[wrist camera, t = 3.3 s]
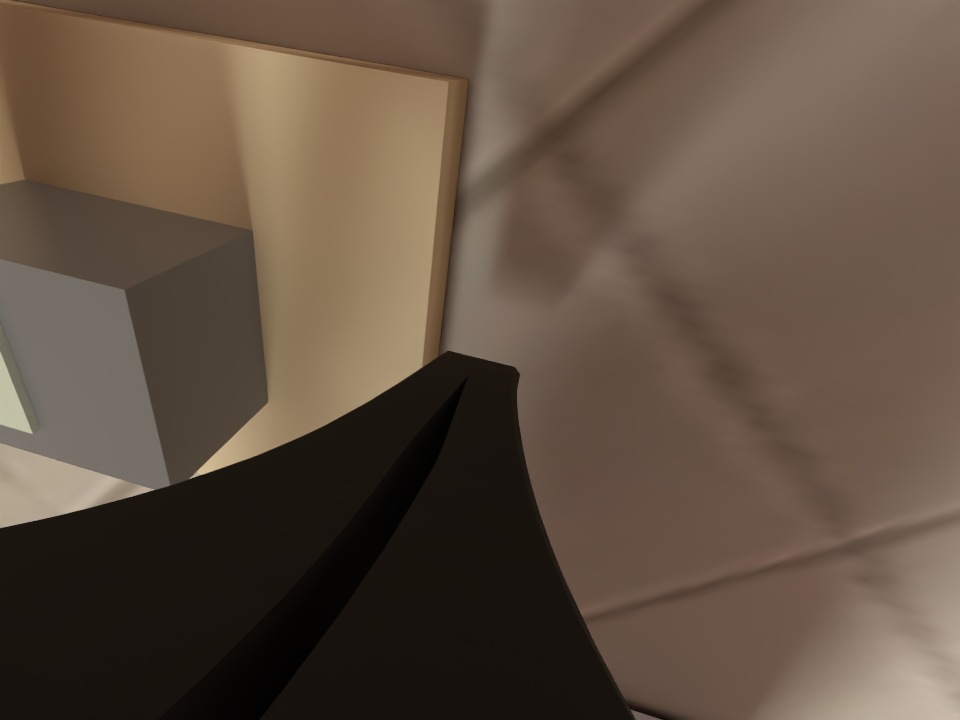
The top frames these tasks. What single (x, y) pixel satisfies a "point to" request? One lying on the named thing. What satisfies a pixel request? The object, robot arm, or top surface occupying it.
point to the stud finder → (124, 333)
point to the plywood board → (259, 184)
